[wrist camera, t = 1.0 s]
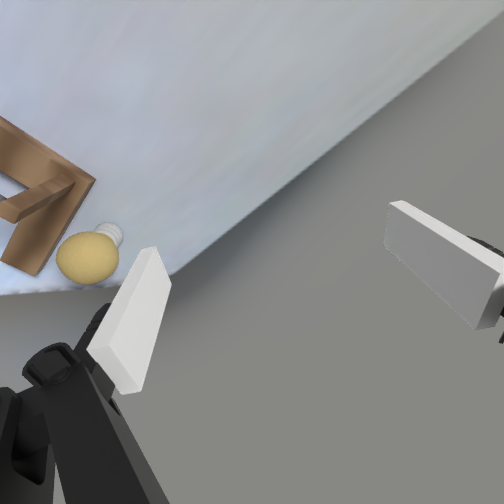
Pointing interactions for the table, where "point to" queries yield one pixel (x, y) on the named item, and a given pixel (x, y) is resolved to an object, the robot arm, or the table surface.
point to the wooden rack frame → (37, 197)
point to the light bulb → (90, 254)
